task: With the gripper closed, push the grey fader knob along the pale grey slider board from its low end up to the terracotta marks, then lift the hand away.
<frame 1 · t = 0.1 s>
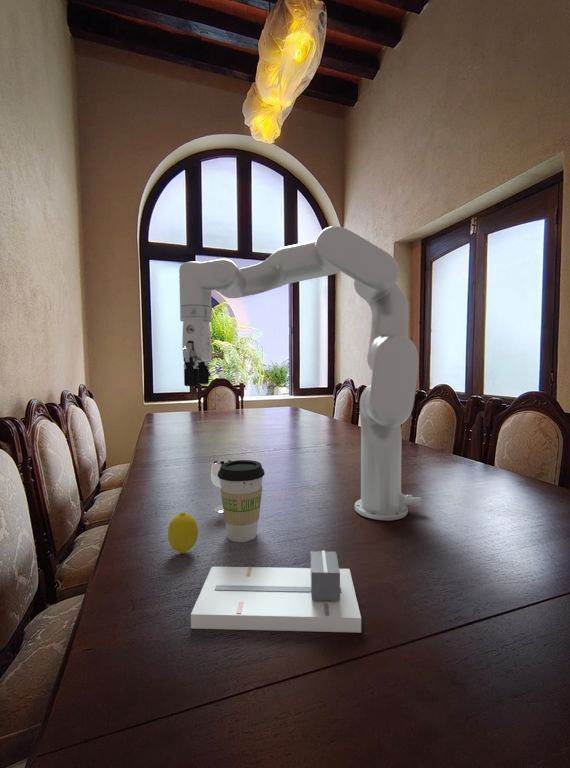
hand: (197, 384, 91), 31 cm above the table, tool pointing down, fingers open, 9 cm apart
lemon: (183, 554, 71), on the table
coffee cup: (242, 536, 78), on the table
wineglass: (223, 510, 92), on the table
fader: (324, 574, 55), point 4 cm above the table, slide at -7.0 cm
fader board: (278, 602, 56), on the table
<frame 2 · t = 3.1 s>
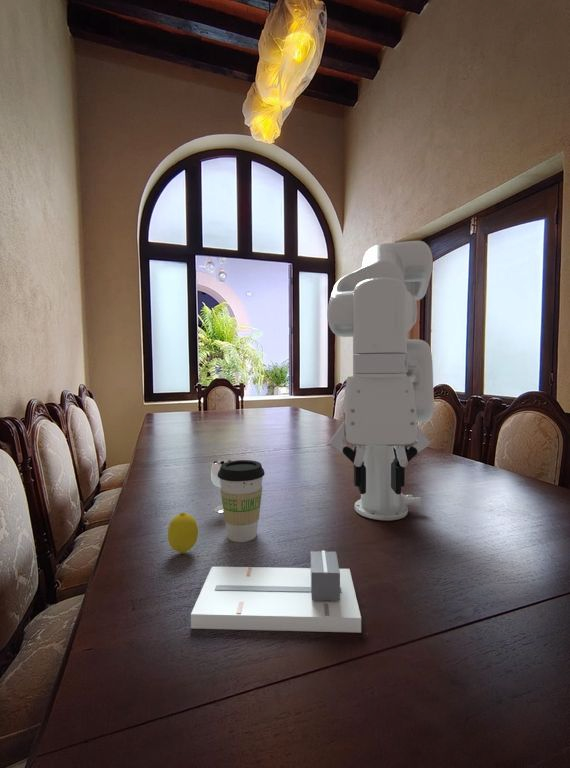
hand: (378, 489, 54), 17 cm above the table, tool pointing down, fingers open, 4 cm apart
nothing on the table moved.
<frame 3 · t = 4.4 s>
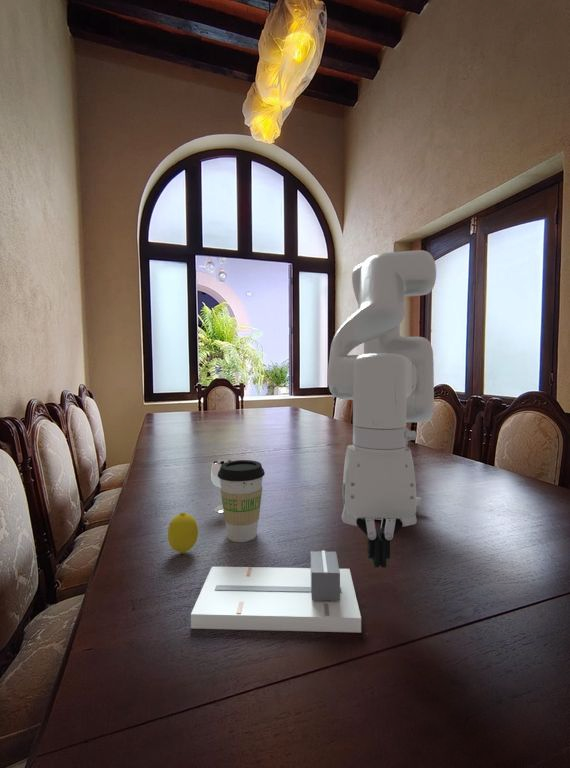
hand: (378, 562, 54), 7 cm above the table, tool pointing down, fingers closed
nothing on the table moved.
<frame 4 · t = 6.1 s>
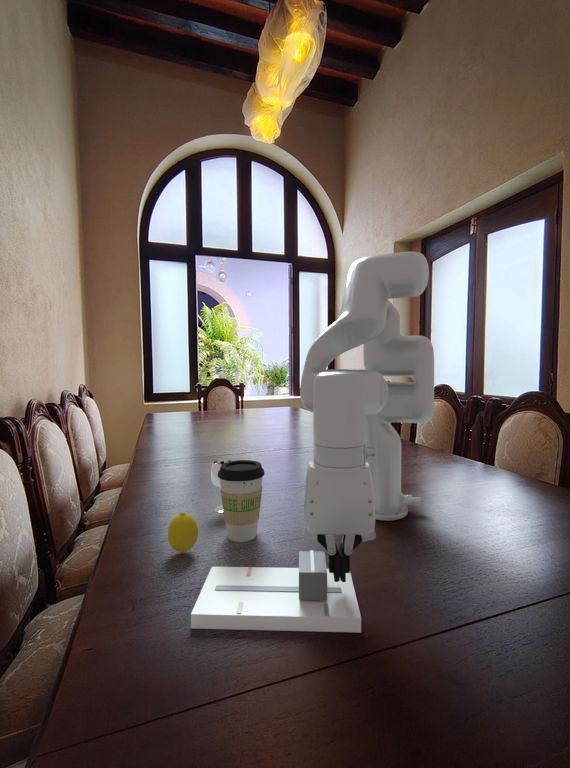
hand: (339, 576, 55), 4 cm above the table, tool pointing down, fingers closed
fader: (312, 573, 55), point 4 cm above the table, slide at -5.2 cm, touching gripper
everything else where it was.
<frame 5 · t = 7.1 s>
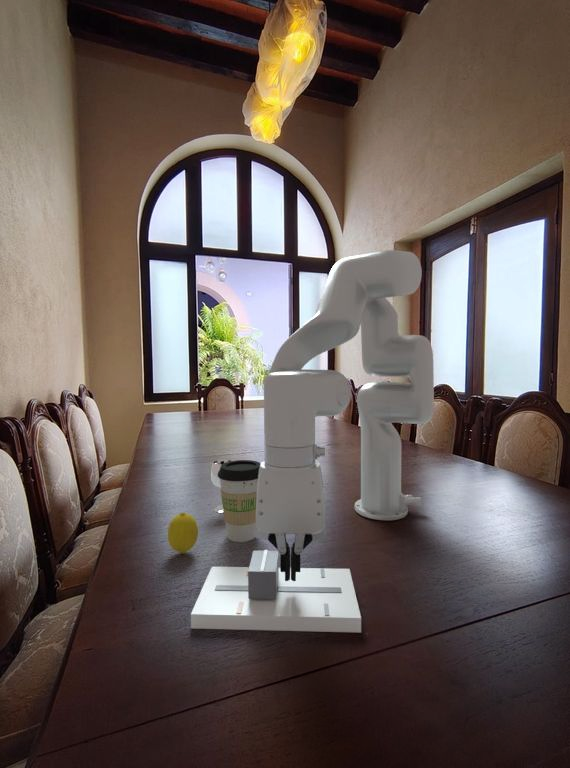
hand: (290, 575, 56), 4 cm above the table, tool pointing down, fingers closed
fader: (264, 573, 56), point 4 cm above the table, slide at 2.1 cm, touching gripper
everything else where it was.
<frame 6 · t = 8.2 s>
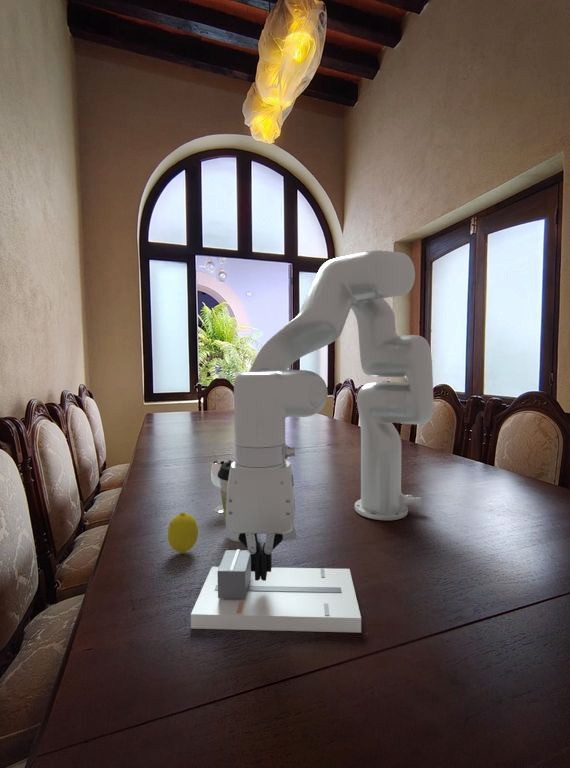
hand: (261, 575, 56), 4 cm above the table, tool pointing down, fingers closed
fader: (235, 572, 56), point 4 cm above the table, slide at 6.4 cm, touching gripper
everything else where it was.
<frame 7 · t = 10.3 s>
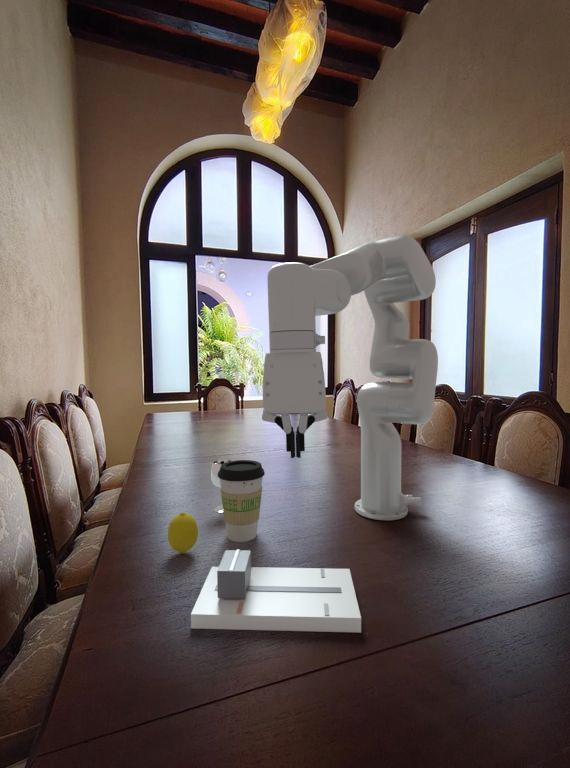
hand: (295, 455, 61), 21 cm above the table, tool pointing down, fingers closed
fader: (234, 572, 56), point 4 cm above the table, slide at 6.5 cm
everything else where it was.
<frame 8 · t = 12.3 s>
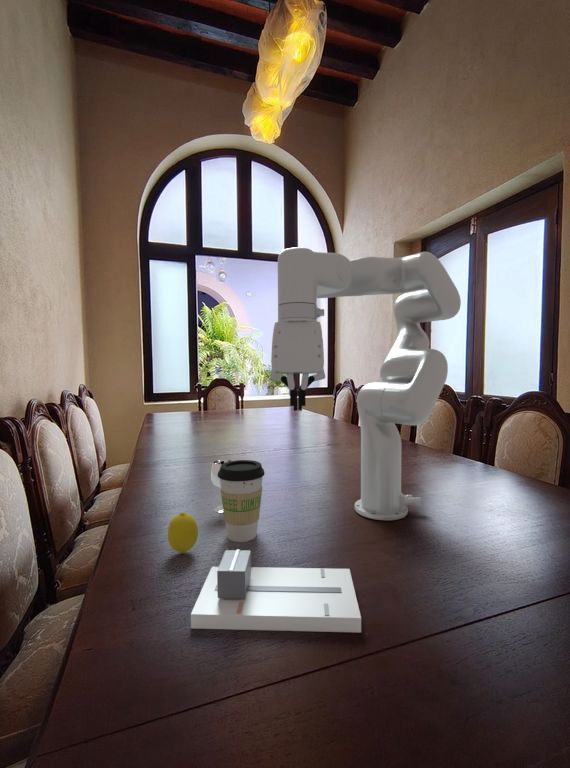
hand: (297, 409, 72), 27 cm above the table, tool pointing down, fingers closed
nothing on the table moved.
at the end: fader slide at 6.5 cm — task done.
